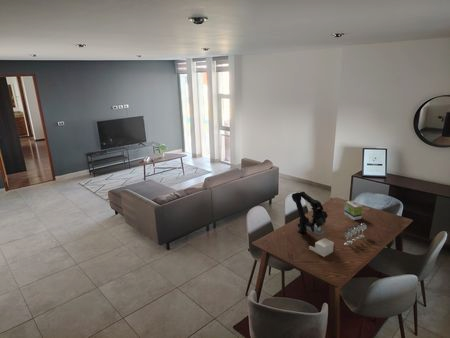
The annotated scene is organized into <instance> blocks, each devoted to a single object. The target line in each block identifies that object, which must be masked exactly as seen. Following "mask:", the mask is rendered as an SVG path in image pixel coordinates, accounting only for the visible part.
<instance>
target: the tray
mask: <svg viewBox="0 0 450 338" xmlns="http://www.w3.org/2000/svg"><path fill="white" fill-rule="evenodd" d="M314 226H316V224H315V225H314ZM306 229H307V232H310V233H312V234H315V235H317V236H320V237H321V236H323V235H324V233H325V230H324V229H322V228H321V226H320V227H317V226H316V227H314V232H312V230H311V228H310V227H309V226H306Z"/></svg>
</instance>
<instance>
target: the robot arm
mask: <svg viewBox="0 0 450 338" xmlns="http://www.w3.org/2000/svg"><path fill="white" fill-rule="evenodd" d="M291 199H292V201H293V202H294V203H295V206H296V208H297V209H296V210H297V213H298V216H299V223H297V227H298V231H297V233H298V234H301V235H305V234H307V233H308V230H307V226H309V227H310V228H311V230H312V232H314V227H316V226H317V227H320V228H321V227H323V226H324V225H325V224H327V223H326V221H327V220H326V219H327V218H328V216H329V215H328V213H327V211H325V210H324V206H323V205H322V202H321V201H319V200H317V199H314V198H313V197H311V196H310V195H309V194H307V193H306V192H305V191H300V192H295V193H292V194H291ZM302 199H304V200H305V201H306V202H307V203H309V204H310V206H311V211H312V214H311V218H312V219H311V220H309V217H307V216H306V214H305V211H304V208H303V204H302ZM315 225H316V226H315ZM312 232H311V233H312Z"/></svg>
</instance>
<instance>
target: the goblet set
mask: <svg viewBox="0 0 450 338" xmlns="http://www.w3.org/2000/svg"><path fill="white" fill-rule="evenodd" d="M367 228H368V227H367V224H366V223H364V222H361V223H360V224H359V223H358V224H357V225H354V226H353V227H350V226H349V227H348V230H345V231H344V237H345V238H346V240H347V241H345V242H344V243H343V244H344V245H345V246H350V244H354V242H357V241H358V240H360V239H362V238H365V237H366V236H365V235H364V233H363V232H364V230H366V229H367ZM360 231H361V234H360ZM357 232H358V234H357ZM356 234H357V236H356ZM352 236H355V237H354V238H352ZM349 238H351V239H349ZM353 240H354V241H353ZM356 240H357V241H356Z"/></svg>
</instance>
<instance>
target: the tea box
mask: <svg viewBox="0 0 450 338" xmlns="http://www.w3.org/2000/svg"><path fill="white" fill-rule="evenodd" d="M343 213H344V215H345V216H346V217H348V218H350V219H351V220H353V221H356V220H361V219H362V216H363V205H362V204H360V203H358V202H356V201H354V200H347V201H345V202H344V212H343Z"/></svg>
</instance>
